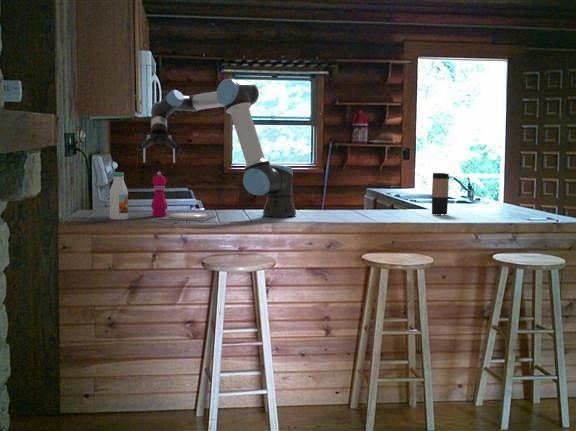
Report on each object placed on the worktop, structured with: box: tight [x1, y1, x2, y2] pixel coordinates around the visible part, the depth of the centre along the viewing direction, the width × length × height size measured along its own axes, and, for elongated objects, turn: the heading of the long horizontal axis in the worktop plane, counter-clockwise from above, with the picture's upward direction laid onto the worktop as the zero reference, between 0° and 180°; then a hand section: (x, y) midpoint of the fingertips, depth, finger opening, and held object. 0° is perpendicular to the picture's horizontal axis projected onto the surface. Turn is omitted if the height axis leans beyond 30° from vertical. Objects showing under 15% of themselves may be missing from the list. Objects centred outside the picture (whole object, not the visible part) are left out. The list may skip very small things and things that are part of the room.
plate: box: [169, 212, 208, 219], centre depth 317 cm, size 16×16×1 cm
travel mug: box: [431, 172, 450, 215], centre depth 346 cm, size 8×8×20 cm
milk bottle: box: [109, 172, 129, 221], centre depth 308 cm, size 8×8×20 cm
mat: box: [159, 214, 217, 222], centre depth 317 cm, size 20×20×1 cm
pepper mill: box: [150, 171, 169, 218], centre depth 322 cm, size 7×7×20 cm
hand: (159, 160), depth 331 cm, fingers open, 13 cm apart
